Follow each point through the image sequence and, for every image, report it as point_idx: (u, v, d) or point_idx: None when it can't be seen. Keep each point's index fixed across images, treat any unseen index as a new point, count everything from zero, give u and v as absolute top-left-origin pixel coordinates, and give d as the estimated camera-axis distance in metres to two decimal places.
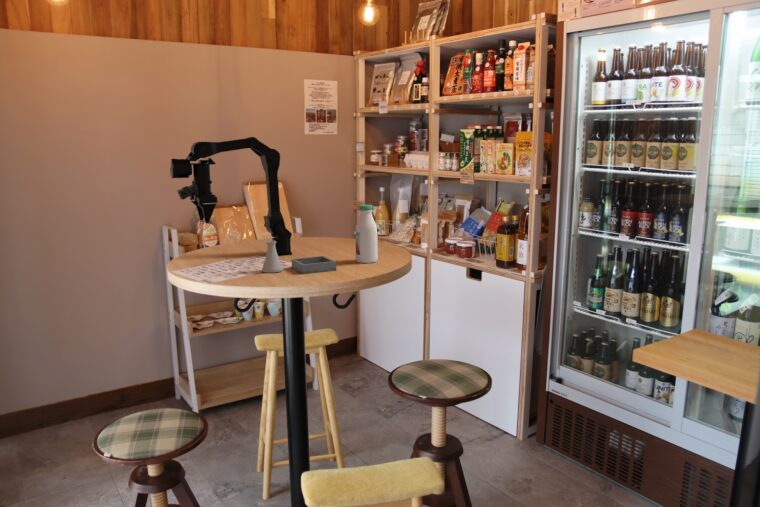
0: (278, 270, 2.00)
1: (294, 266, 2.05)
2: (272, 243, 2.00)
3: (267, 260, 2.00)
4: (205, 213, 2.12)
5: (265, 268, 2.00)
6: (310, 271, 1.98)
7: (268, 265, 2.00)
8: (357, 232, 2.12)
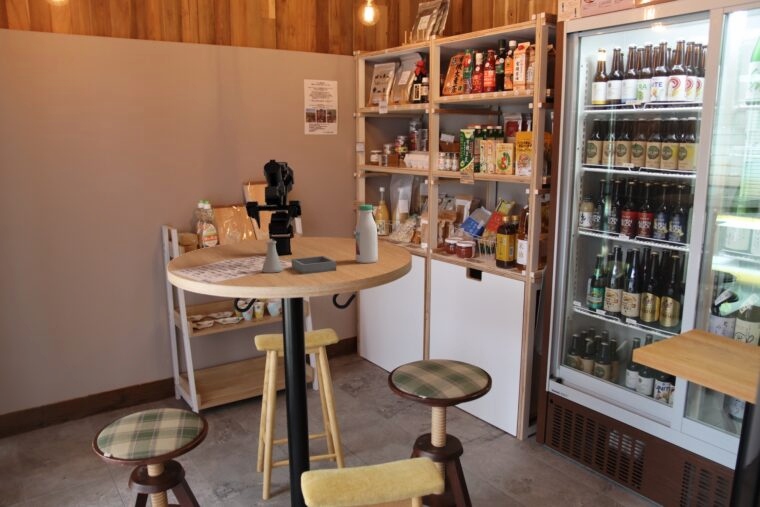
0: (278, 270, 2.00)
1: (294, 266, 2.05)
2: (272, 243, 2.00)
3: (267, 260, 2.00)
4: (290, 218, 2.09)
5: (265, 268, 2.00)
6: (310, 271, 1.98)
7: (268, 265, 2.00)
8: (357, 232, 2.12)
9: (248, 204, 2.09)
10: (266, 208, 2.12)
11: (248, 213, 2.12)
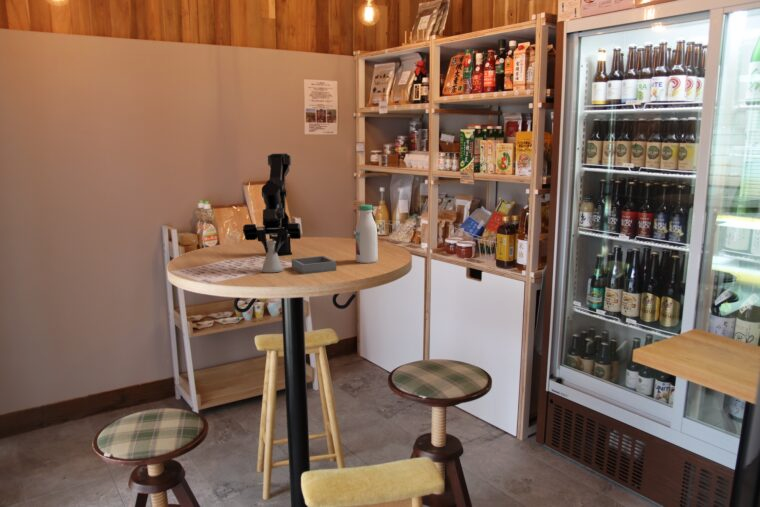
0: (278, 270, 2.00)
1: (294, 266, 2.05)
2: (272, 243, 2.00)
3: (267, 260, 2.00)
4: (280, 242, 2.02)
5: (265, 268, 2.00)
6: (310, 271, 1.98)
7: (268, 265, 2.00)
8: (357, 232, 2.12)
9: (245, 227, 2.02)
10: (264, 231, 2.04)
11: (245, 236, 2.05)
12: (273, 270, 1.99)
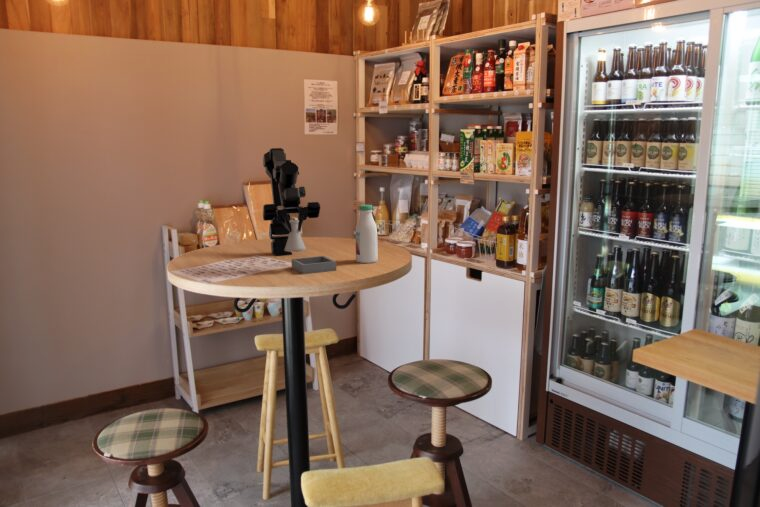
0: (303, 249, 2.00)
1: (294, 266, 2.05)
2: (296, 222, 1.99)
3: (291, 239, 1.99)
4: (302, 221, 2.02)
5: (290, 247, 1.99)
6: (310, 271, 1.98)
7: (293, 244, 1.99)
8: (357, 232, 2.12)
9: (267, 207, 1.99)
10: None
11: (264, 216, 2.02)
12: (298, 249, 1.99)
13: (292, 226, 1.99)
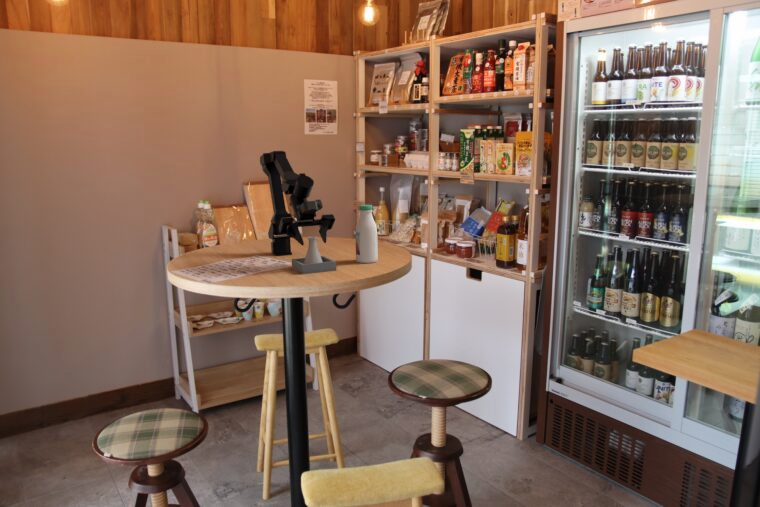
0: None
1: (294, 266, 2.05)
2: (315, 238, 2.02)
3: (311, 256, 2.02)
4: None
5: None
6: (310, 271, 1.98)
7: (313, 260, 2.02)
8: (357, 232, 2.12)
9: (285, 220, 2.00)
10: (300, 224, 2.04)
11: (282, 230, 2.02)
12: None
13: (311, 242, 2.02)
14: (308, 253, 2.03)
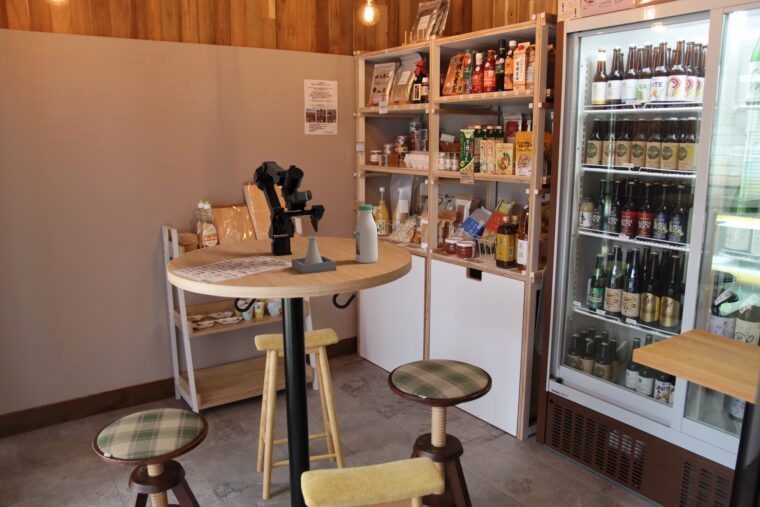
0: None
1: (294, 266, 2.05)
2: (315, 238, 2.02)
3: (311, 256, 2.02)
4: None
5: None
6: (310, 271, 1.98)
7: (313, 260, 2.02)
8: (357, 232, 2.12)
9: (276, 210, 2.07)
10: (291, 214, 2.12)
11: (273, 220, 2.10)
12: None
13: (311, 242, 2.02)
14: (308, 253, 2.03)
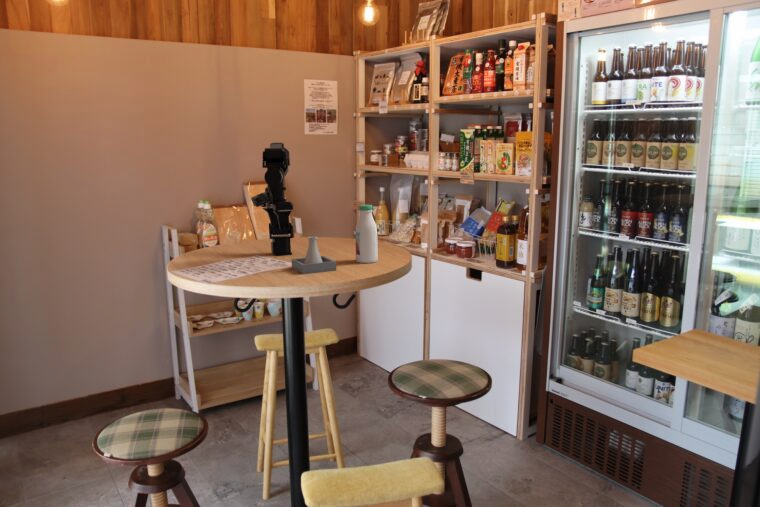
0: None
1: (294, 266, 2.05)
2: (315, 238, 2.02)
3: (311, 256, 2.02)
4: (280, 220, 2.09)
5: None
6: (310, 271, 1.98)
7: (313, 260, 2.02)
8: (357, 232, 2.12)
9: (261, 205, 2.19)
10: (273, 205, 2.15)
11: None
12: None
13: (311, 242, 2.02)
14: (308, 253, 2.03)
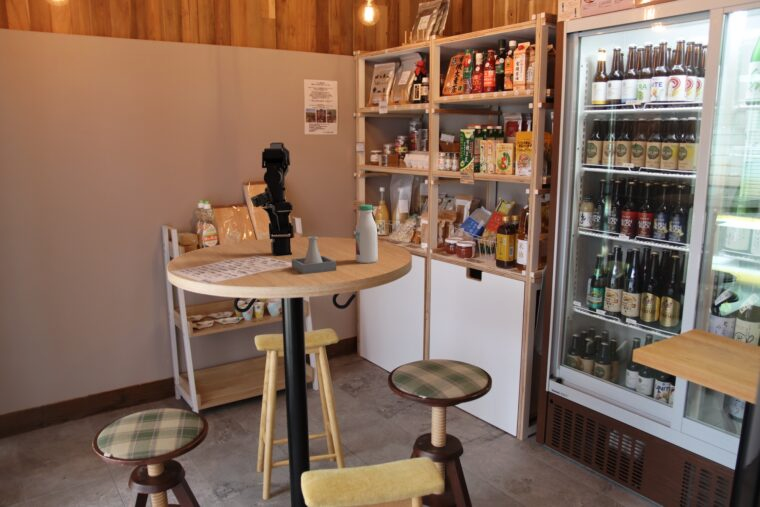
0: None
1: (294, 266, 2.05)
2: (315, 238, 2.02)
3: (311, 256, 2.02)
4: (279, 221, 2.09)
5: None
6: (310, 271, 1.98)
7: (313, 260, 2.02)
8: (357, 232, 2.12)
9: (261, 205, 2.19)
10: None
11: None
12: None
13: (311, 242, 2.02)
14: (308, 253, 2.03)
